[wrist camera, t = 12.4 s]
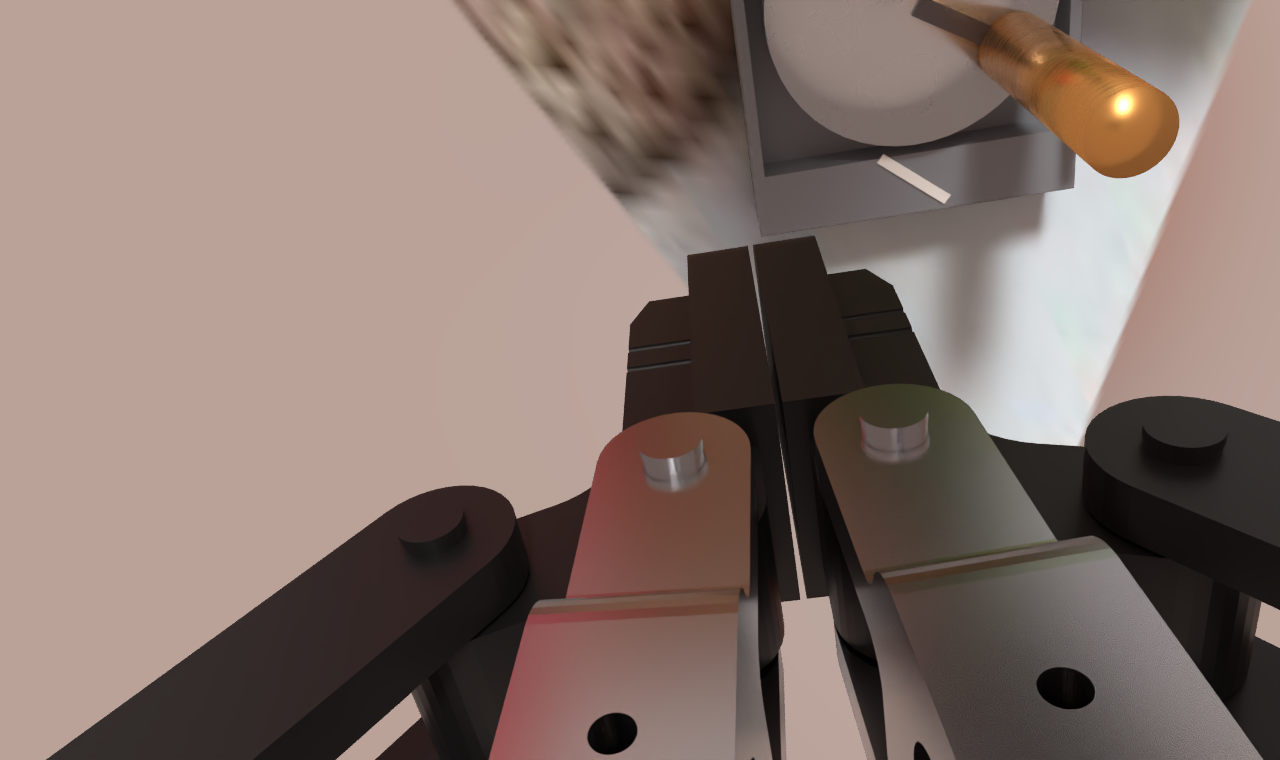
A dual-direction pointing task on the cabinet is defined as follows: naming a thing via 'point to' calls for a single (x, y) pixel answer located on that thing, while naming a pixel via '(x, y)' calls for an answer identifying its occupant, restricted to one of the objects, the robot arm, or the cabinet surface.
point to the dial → (962, 75)
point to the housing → (883, 151)
